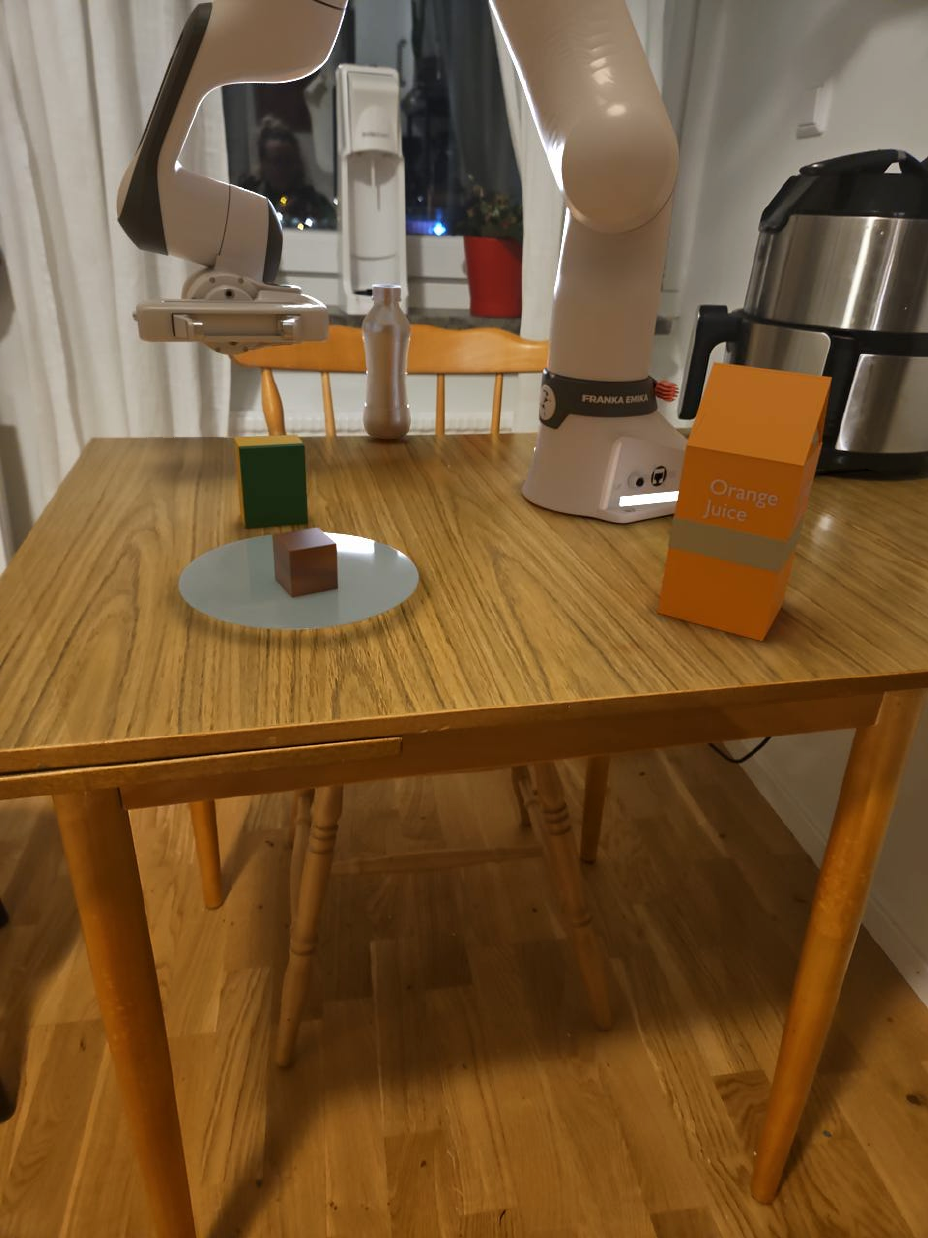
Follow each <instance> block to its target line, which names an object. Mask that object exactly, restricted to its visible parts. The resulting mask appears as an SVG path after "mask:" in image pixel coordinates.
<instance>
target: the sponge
mask: <svg viewBox="0 0 928 1238" xmlns="http://www.w3.org/2000/svg"><path fill="white" fill-rule="evenodd" d="M233 441H234V442H233V443H234V454H235V466H236V478H237V489H238V501H239V514H240V519H241V521H242V523H243V525H244V528H245V529H246V530H250V529H252V530H253V529H261V528H262V529H263V528H273V527H274V528H275V527H284V526H285V527H287V526H297V525H308V524H309V513H308V489H307V486H308V485H307V468H306V445H305V444H304V442H303V441H302V440H301V439H300V437H299V436H298V434H281V435H279V434H278V435H259V436H239V437H233Z"/></svg>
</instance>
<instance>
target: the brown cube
mask: <svg viewBox="0 0 928 1238" xmlns="http://www.w3.org/2000/svg"><path fill="white" fill-rule="evenodd" d="M325 533H326V532H324V531H323V530H322V529H321V528H319V527H312V528H306V529H305V528H304V529H300V530H293V531H286V532H280V533H272V534H273V535H272V539H273V554H274V570H275V579H276V580H277V581H278V583H279V584H280V585H281V586H282V587H283V588H284V589H285V590H286V591H287V592H288V593H289V595H290V596H291V597H297V596H302V595H307V594H312V593H317V592H322V591H327V590H332V589H337V588H338V567H337V543H336V542H334V541H333V540H332V539H331V538H330V537H329V536H327V535H326V534H325Z"/></svg>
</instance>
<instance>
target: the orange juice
mask: <svg viewBox="0 0 928 1238" xmlns="http://www.w3.org/2000/svg"><path fill="white" fill-rule="evenodd" d="M712 363H713V364H712V366H711V370H710V372H709V375H708V379H707V382H706V385H705V387H704V391H703V394H702V397H701V400H700V402H699V405H698V409H697V412H696V415H695V418H694V422H693V424H692V427H691V429H690V433H689V436H688V439H687V440H688V442H687V445H686V451H685V456H684V462H683V468H682V474H681V479H680V485H679V491H678V497H677V503H676V508H675V513H674V514H673V517H672V523H671V528H670V533H669V539H668V546H667V547H668V549H667V555H666V560H665V567H664V572H663V577H662V585H661V590H660V596H659V600H658V607H657V612H656V613H657V614H660V615H663V616H667V617H670V618H675V619H678V620H682V621H686V622H689V623H693V624H697V625H700V626H704V627H708V628H712V629H715V630H718V631H722V632H725V633H729V634H733V635H737V636H740V637H745V638H748V639H752V640H755V641H760V642H764V640H765V638H766V636H767V634H768V632H769V630H770V628H771V627H772V626H773V623H774V621H775V619H776V618H777V616H778V614H779V612H780V611H781V609H782V606H783V601H784V598H785V594H786V590H787V587H788V581H789V578H790V575H791V570H792V566H793V562H794V557H795V554H796V549H797V546H798V545H799V540H800V536H801V533H802V529H803V524H804V521H805V516H806V509H807V506H808V502H809V498H810V495H811V491H812V486H813V482H814V479H815V478H814V477H815V475H816V474H815V471H816V468H817V466H818V462H819V458H820V455H821V451H822V446H823V437H824V436H823V435H824V429H825V423H826V416H827V411H828V410H827V409H828V404H829V398H830V391H831V386H832V385H831V384H832V380H833V377H832V376H825V375H817V374H810V373H801V372H793V371H787V370H779V369H770V368H762V367H755V366H748V365H739V364H732V363H725V362H718V361H713V362H712Z"/></svg>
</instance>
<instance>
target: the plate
mask: <svg viewBox="0 0 928 1238" xmlns="http://www.w3.org/2000/svg"><path fill="white" fill-rule="evenodd" d="M324 533H325V534H326V535H327V536H329V537H330V538H331V539H332V540H333V541H334V542H336V543H337V567H338V588H337V589H332V590H327V591H322V592H317V593H312V594H307V595H302V596H297V597H291V596H290V595H289V593H288V592H287V591H286V590H285V589H284V588H283V587H282V586H281V585H280V584H279V583H278V581H277V580H276V579H275V570H274V554H273V539H272V535H273V534H274V533H271V534H265V535H258V536H253V537H247V538H243V539H239V540H236V541H233V542H228V543H226V544H223V545H220V546H217V547H215V548H213V549H211V550H209V551H206V552H204V553H203V554H201V555H199V556H198V557H196V558H194V559H193V560H192V561H190V563H188V564H187V566H185V567H184V568H183V570H182V571H181V573H180V575H179V578H178V581H177V583H178V584H177V585H178V592H179V595H180V596H181V598H182V599H183V600H184V601H185V602H186V603H187V604H188V605H189V606H190V607H191V608H193V609H194V610H196V611H197V612H199V613H201V614H203V615H205V616H208V617H210V618H213V619H216V620H219V621H222V622H225V623H228V624H233V625H237V626H242V627H249V628H255V629H265V630H281V631H282V630H283V631H284V630H285V631H286V630H288V631H295V630H313V629H324V628H325V629H326V628H333V627H338V626H344V625H348V624H354V623H358V622H362V621H365V620H368V619H371V618H374V617H377V616H379V615H382V614H384V613H387V612H389V611H391V610H392V609H395V608H396V607H398V606H400V605H401V604H402V603H404V602H405V601H406V600H408V599H409V598H410V597H411V596H412V595H413V594H414V592H415V591H416V589H417V587H418V585H419V583H420V582H419V581H420V573H419V570H418V568H417V566H416V565H415V563H414V562H413V561H412V560H411V559H410V557H409V556H407V555H406V554H404V553H403V552H401V551H400V550H397V549H396V548H394V547H393V546H390V545H388V544H385V543H382V542H379V541H376V540H374V539H368V538H365V537H361V536H357V535H356V536H354V535H350V534H342V533H334V532H333V533H332V532H324Z"/></svg>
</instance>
